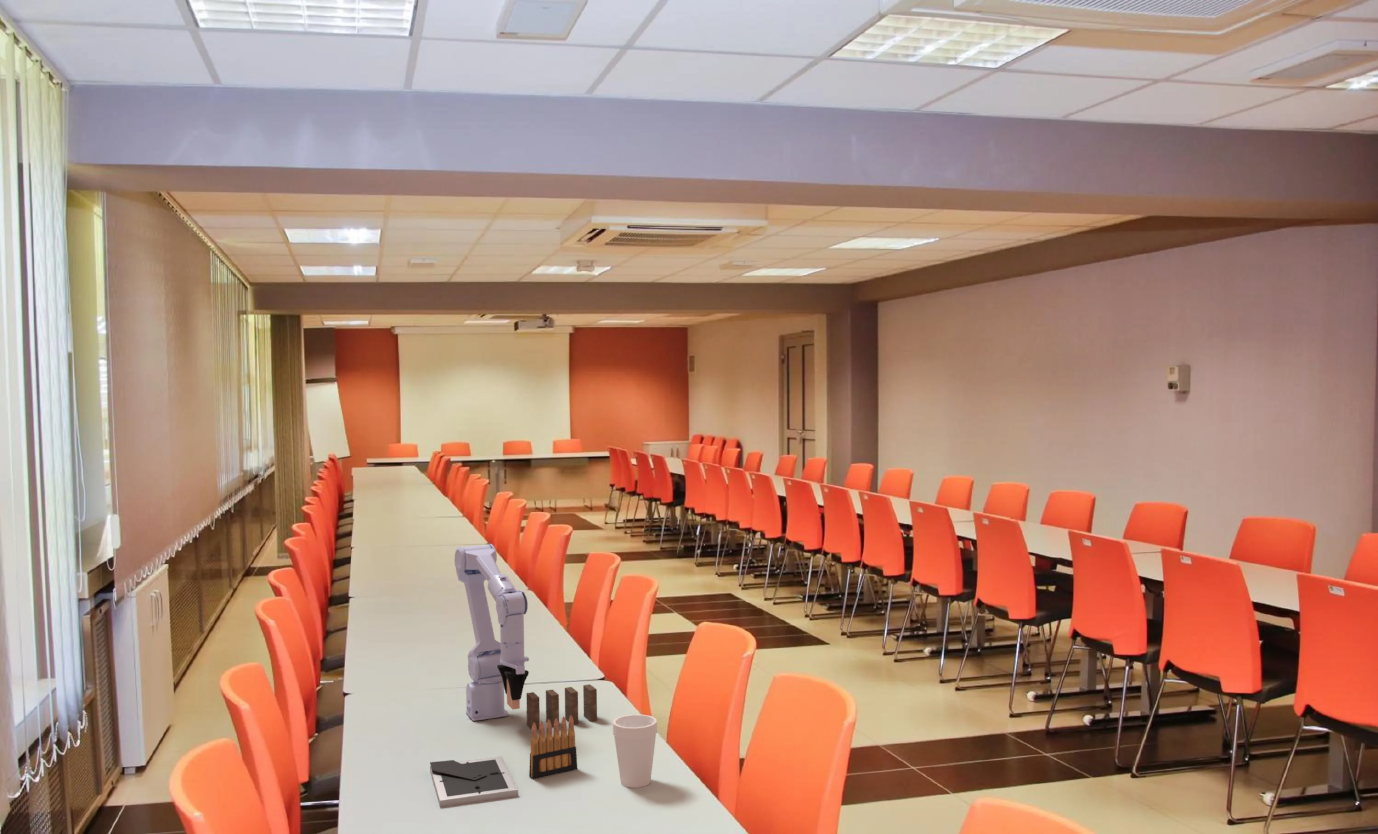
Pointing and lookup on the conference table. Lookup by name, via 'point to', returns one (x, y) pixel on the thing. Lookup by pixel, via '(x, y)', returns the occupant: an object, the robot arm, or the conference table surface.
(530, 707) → the brown rectangular block
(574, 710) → the tile
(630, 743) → the foam cup
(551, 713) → the tile
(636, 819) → the conference table surface
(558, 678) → the conference table surface
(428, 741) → the conference table surface
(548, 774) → the ammunition clip
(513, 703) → the tile
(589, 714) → the brown flat block
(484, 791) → the picture frame
